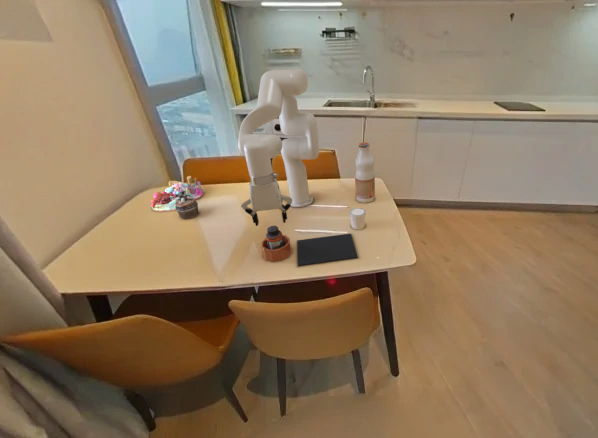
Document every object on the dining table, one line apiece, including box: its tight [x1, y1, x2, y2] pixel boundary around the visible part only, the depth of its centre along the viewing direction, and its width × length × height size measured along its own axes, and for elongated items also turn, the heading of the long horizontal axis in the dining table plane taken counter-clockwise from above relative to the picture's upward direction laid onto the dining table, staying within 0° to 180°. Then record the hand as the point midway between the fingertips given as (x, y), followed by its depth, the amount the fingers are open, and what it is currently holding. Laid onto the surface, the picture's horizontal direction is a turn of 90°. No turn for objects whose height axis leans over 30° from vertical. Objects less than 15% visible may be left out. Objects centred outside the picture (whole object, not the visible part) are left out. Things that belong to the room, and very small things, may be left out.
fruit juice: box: [354, 141, 376, 204], centre depth 150 cm, size 9×9×28 cm
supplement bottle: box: [265, 225, 284, 250], centre depth 118 cm, size 6×6×11 cm
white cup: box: [349, 207, 367, 230], centre depth 134 cm, size 7×7×7 cm
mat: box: [296, 233, 359, 267], centre depth 122 cm, size 16×22×1 cm
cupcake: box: [175, 193, 200, 220], centre depth 147 cm, size 10×10×10 cm
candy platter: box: [150, 175, 205, 212], centre depth 162 cm, size 25×24×9 cm
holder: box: [260, 234, 292, 262], centre depth 120 cm, size 10×10×5 cm
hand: (271, 222), depth 114 cm, fingers open, 9 cm apart
